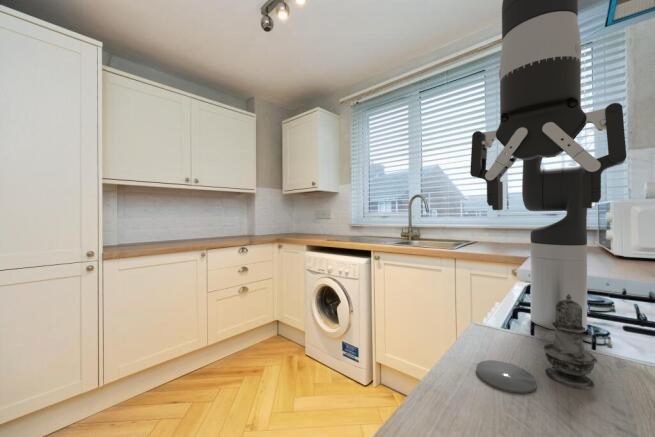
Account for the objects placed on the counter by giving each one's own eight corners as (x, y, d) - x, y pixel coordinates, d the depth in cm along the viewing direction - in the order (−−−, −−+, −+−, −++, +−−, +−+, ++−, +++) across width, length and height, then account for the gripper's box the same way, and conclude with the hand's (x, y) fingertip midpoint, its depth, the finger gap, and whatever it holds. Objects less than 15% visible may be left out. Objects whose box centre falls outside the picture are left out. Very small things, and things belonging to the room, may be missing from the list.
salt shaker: (609, 393, 36) (609, 301, 36) (557, 387, 38) (557, 299, 38) (578, 368, 42) (578, 289, 42) (534, 365, 43) (534, 288, 43)
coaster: (484, 359, 45) (484, 355, 45) (540, 377, 40) (540, 372, 40) (469, 377, 40) (469, 373, 40) (530, 400, 35) (530, 396, 35)
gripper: (624, 58, 30) (624, 207, 31) (481, 98, 40) (482, 210, 41) (628, 27, 25) (627, 208, 26) (462, 82, 35) (463, 211, 36)
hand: (538, 209), depth 33 cm, fingers open, 8 cm apart
